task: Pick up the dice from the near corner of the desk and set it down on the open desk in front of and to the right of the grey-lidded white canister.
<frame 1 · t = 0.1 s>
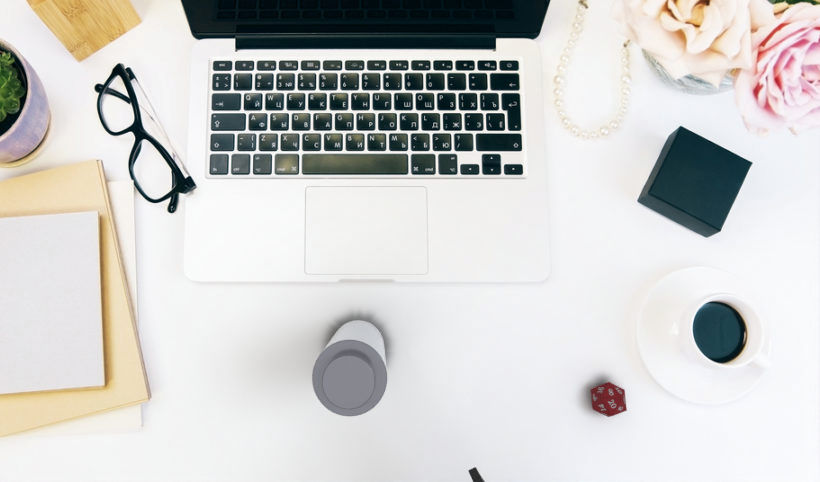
grey-lidded white canister: (348, 382, 48), on the table
dice: (601, 395, 71), on the table
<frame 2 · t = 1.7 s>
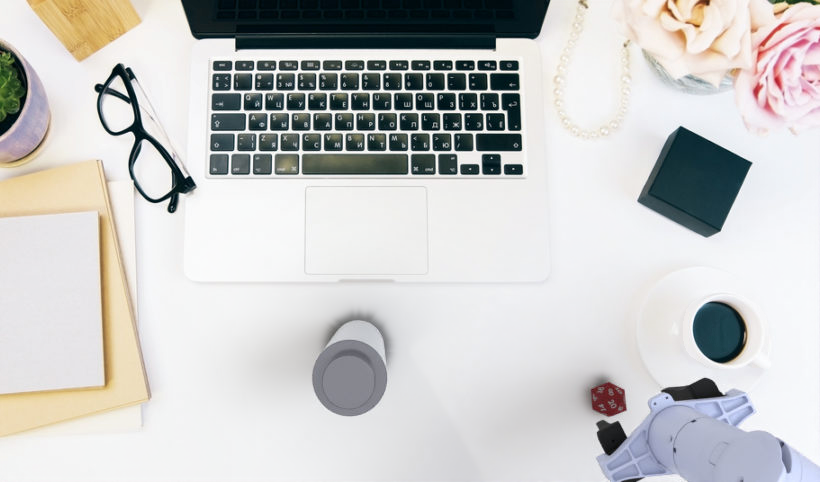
hand: (635, 413, 62), 9 cm above the table, tool pointing down, fingers open, 7 cm apart
nothing on the table moved.
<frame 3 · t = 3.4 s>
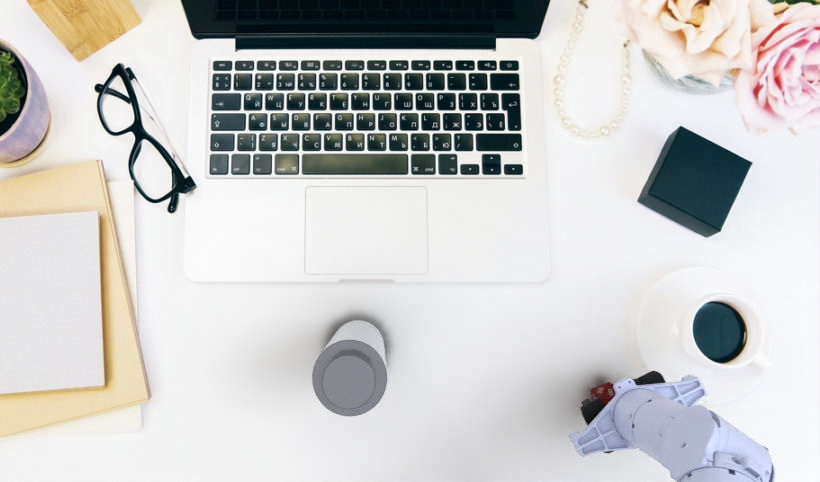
hand: (606, 398, 70), 1 cm above the table, tool pointing down, fingers closed on dice, 4 cm apart
dice: (601, 395, 71), on the table, touching gripper
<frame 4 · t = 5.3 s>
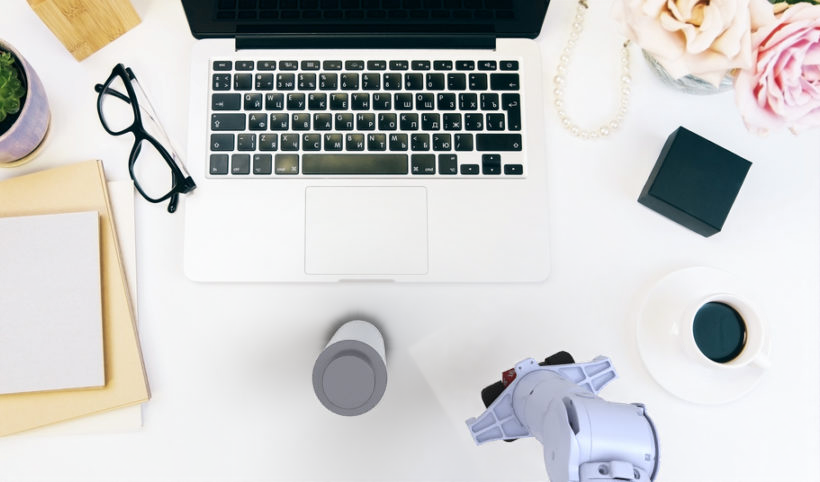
hand: (519, 383, 63), 8 cm above the table, tool pointing down, fingers closed on dice, 4 cm apart
dice: (515, 380, 65), point 7 cm above the table, touching gripper
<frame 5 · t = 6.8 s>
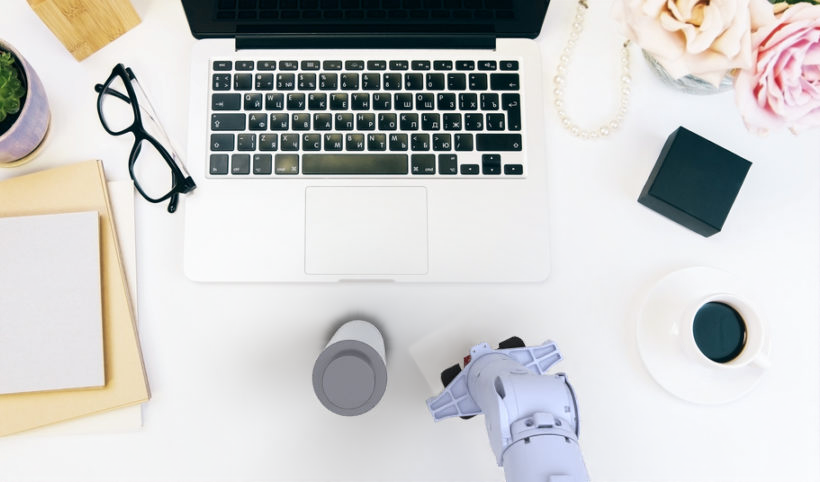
hand: (479, 367, 69), 3 cm above the table, tool pointing down, fingers closed on dice, 4 cm apart
dice: (477, 365, 70), point 1 cm above the table, touching gripper
when the fingers open (1 cm above the table, at t = 7.8 s): dice stays where it is, on the table.
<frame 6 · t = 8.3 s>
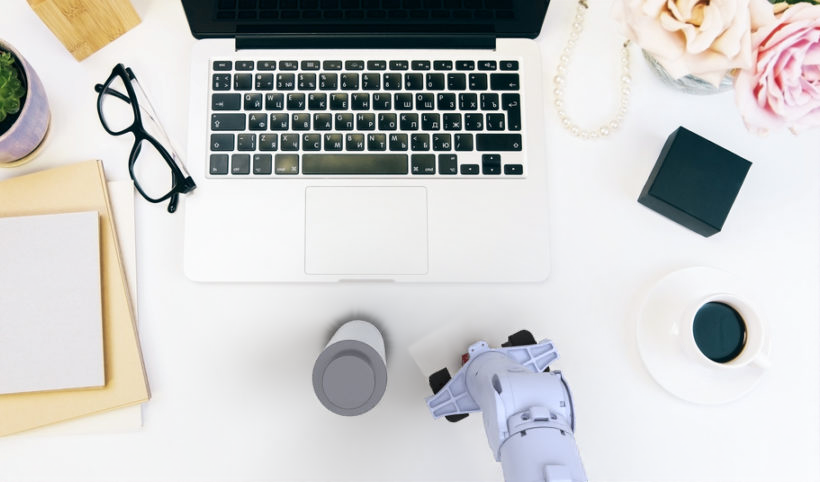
hand: (478, 366, 70), 2 cm above the table, tool pointing down, fingers open, 7 cm apart
dice: (474, 363, 72), on the table
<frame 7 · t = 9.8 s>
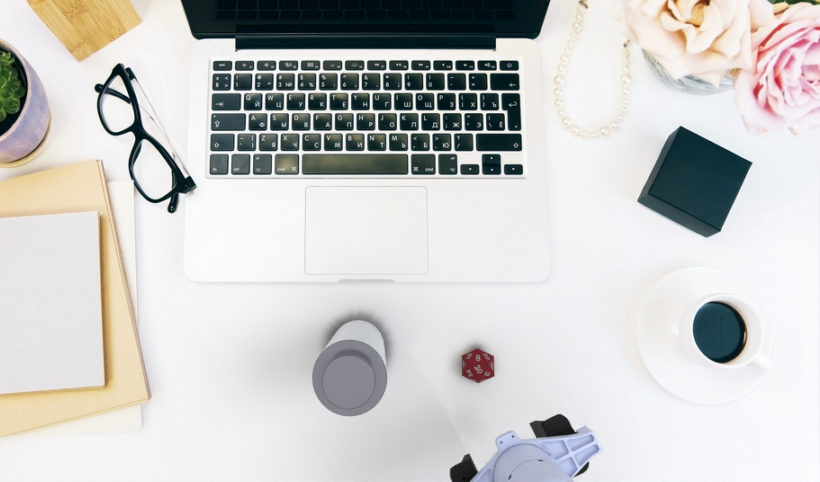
hand: (503, 447, 61), 9 cm above the table, tool pointing down, fingers open, 7 cm apart
nothing on the table moved.
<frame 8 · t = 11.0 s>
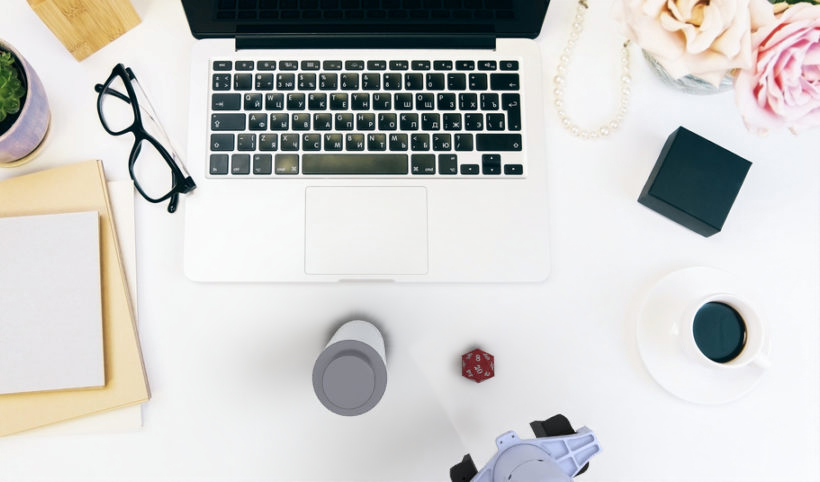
hand: (503, 447, 61), 9 cm above the table, tool pointing down, fingers open, 7 cm apart
nothing on the table moved.
at the end: dice inside the target area under the grey-lidded white canister (0.1 cm from its centre), point -24.2 cm above the grey-lidded white canister's base; the gripper is holding nothing; dice tilted 0° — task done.
